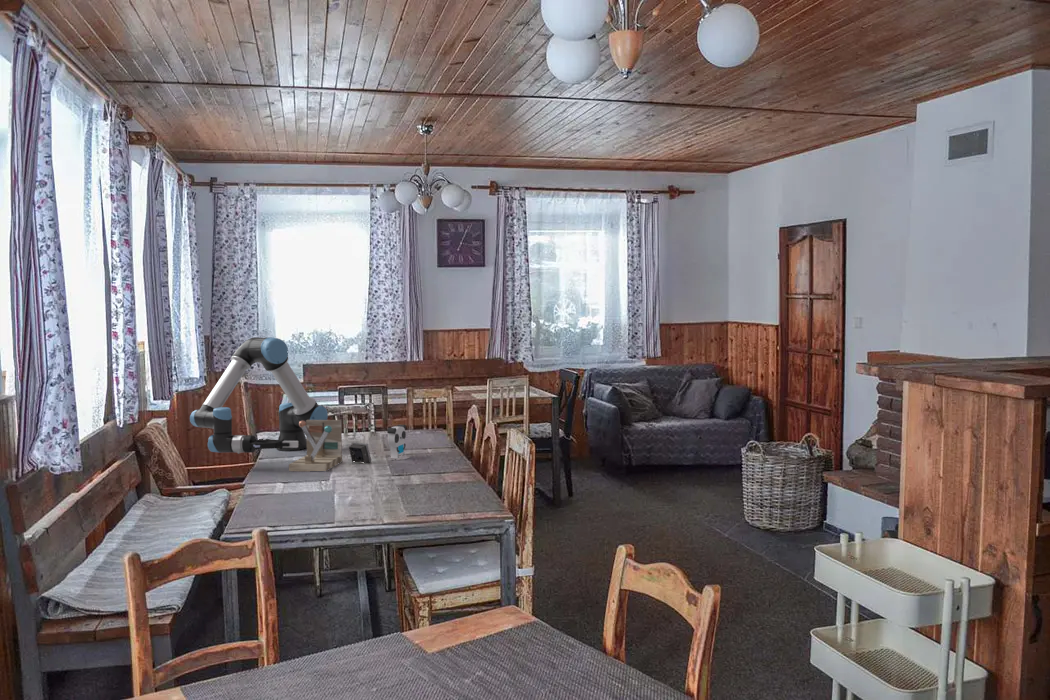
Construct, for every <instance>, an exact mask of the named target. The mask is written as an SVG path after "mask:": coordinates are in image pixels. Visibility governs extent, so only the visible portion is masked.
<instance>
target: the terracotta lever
mask: <svg viewBox="0 0 1050 700" xmlns="http://www.w3.org/2000/svg"><path fill="white" fill-rule="evenodd" d="M299 426H300V427H301V428H302V430H303V431H304V434H305V437H306V436H307V437H306V439H307V438H308V440H309V442H310V443H311V445H312V447H313V449H314V448H315V447H316V445H317V443H316V441H315V439H314V437H313V436H312V434H311V432H310V431H309V429H308V427H307V425H306V422H305V421H300V422H299ZM319 451H321V449H320V450H319Z"/></svg>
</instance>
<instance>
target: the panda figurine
mask: <svg viewBox="0 0 1050 700" xmlns="http://www.w3.org/2000/svg"><path fill="white" fill-rule="evenodd" d="M406 428H407V427H406V424H397V425H396V426H395V425H394V426H391V427H388V428H387V431H386V432H387V444H388V447H389V450H390V451H389V452H390V456H391V458H399V455H401V456H402V455H404V456H405V449H406V443H405V442H406V439H407V438H406V437H407V433H406Z"/></svg>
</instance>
